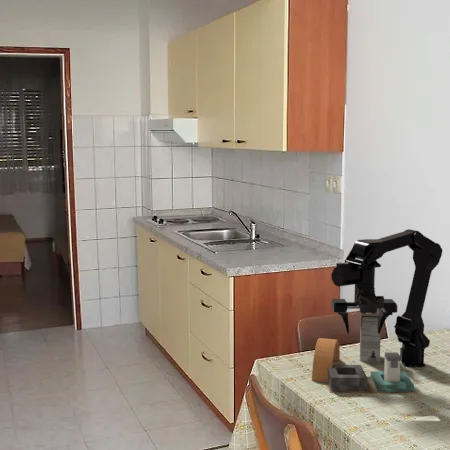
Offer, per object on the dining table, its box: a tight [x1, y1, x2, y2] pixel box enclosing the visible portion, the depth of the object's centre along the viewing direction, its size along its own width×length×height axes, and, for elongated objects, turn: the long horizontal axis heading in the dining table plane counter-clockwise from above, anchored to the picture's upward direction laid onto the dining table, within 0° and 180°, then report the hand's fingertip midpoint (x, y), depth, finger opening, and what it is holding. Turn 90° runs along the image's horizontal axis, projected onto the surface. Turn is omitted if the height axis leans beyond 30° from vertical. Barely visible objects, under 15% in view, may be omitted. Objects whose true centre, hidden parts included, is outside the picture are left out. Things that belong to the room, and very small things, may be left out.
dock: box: [325, 364, 417, 394], centre depth 179 cm, size 24×12×5 cm, turn 89°
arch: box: [311, 337, 341, 383], centre depth 190 cm, size 6×20×10 cm, turn 162°
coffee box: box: [359, 309, 382, 363], centre depth 201 cm, size 9×6×16 cm
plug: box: [383, 351, 401, 382], centre depth 178 cm, size 4×4×9 cm
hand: (363, 333), depth 187 cm, fingers open, 9 cm apart
